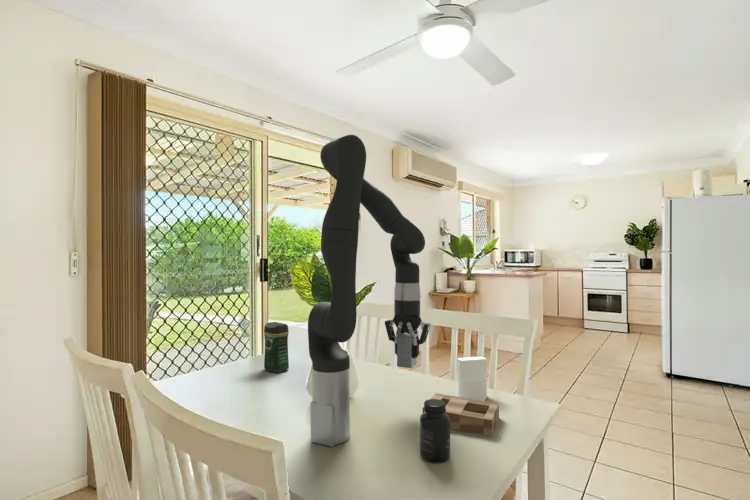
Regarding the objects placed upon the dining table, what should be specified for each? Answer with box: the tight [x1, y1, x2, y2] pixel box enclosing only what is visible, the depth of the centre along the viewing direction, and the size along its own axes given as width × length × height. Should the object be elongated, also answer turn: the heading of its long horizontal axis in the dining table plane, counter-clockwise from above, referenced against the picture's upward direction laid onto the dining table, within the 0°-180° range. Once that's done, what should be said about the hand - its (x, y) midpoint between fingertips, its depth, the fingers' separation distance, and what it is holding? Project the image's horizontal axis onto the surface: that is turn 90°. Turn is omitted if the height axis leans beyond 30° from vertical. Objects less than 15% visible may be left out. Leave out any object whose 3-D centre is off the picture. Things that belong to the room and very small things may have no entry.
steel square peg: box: [396, 333, 418, 369], centre depth 114 cm, size 4×4×9 cm
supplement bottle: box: [419, 398, 451, 464], centre depth 87 cm, size 7×7×12 cm
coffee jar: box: [263, 321, 290, 373], centre depth 152 cm, size 10×8×19 cm
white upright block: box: [457, 356, 488, 401], centre depth 123 cm, size 9×9×12 cm
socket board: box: [422, 393, 500, 437], centre depth 106 cm, size 12×18×4 cm, turn 64°
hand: (407, 356), depth 114 cm, fingers closed on steel square peg, 4 cm apart
